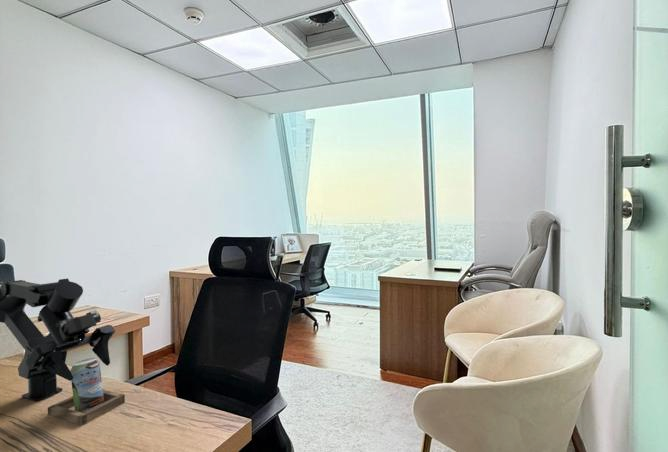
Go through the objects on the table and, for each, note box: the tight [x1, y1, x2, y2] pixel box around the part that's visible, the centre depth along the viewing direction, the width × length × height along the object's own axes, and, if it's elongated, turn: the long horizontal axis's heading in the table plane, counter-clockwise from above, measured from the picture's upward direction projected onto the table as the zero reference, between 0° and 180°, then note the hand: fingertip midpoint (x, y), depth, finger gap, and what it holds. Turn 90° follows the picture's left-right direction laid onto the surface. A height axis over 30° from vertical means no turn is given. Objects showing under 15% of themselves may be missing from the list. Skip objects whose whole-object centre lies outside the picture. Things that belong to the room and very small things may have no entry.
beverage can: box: [70, 357, 105, 413], centre depth 88 cm, size 6×7×12 cm
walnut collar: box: [47, 389, 126, 426], centre depth 87 cm, size 12×11×2 cm
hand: (91, 371), depth 87 cm, fingers open, 9 cm apart
